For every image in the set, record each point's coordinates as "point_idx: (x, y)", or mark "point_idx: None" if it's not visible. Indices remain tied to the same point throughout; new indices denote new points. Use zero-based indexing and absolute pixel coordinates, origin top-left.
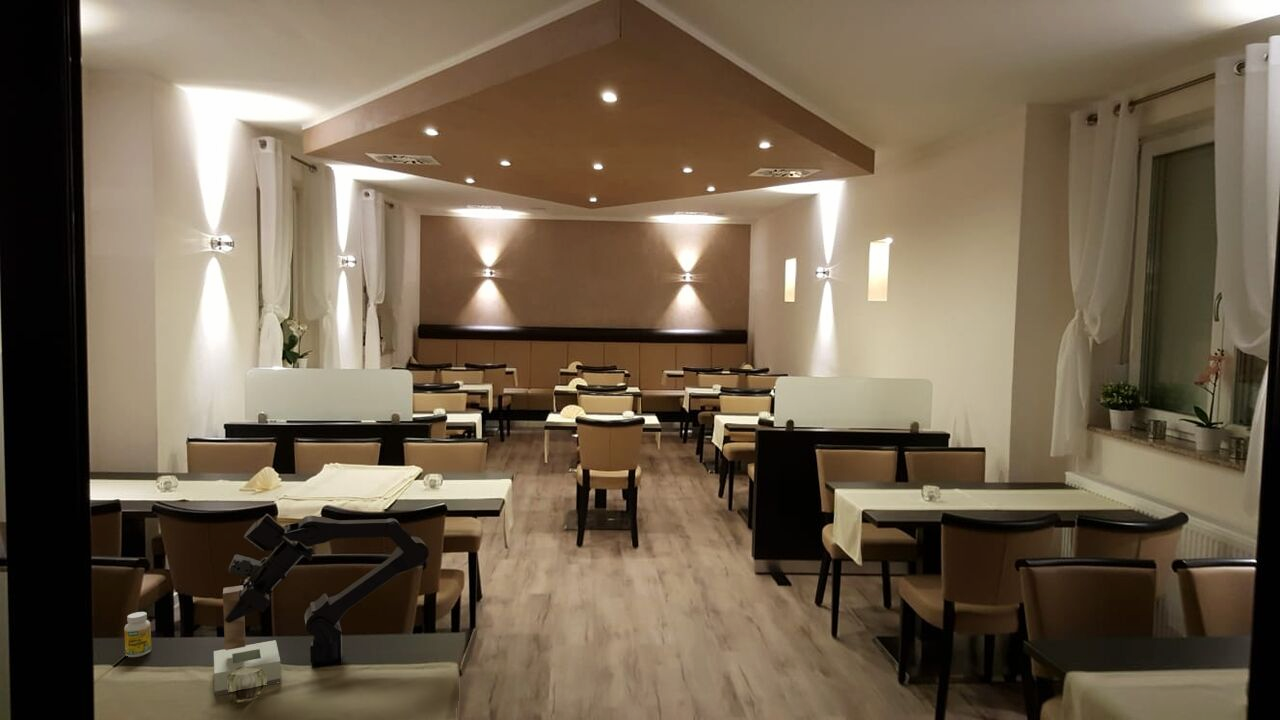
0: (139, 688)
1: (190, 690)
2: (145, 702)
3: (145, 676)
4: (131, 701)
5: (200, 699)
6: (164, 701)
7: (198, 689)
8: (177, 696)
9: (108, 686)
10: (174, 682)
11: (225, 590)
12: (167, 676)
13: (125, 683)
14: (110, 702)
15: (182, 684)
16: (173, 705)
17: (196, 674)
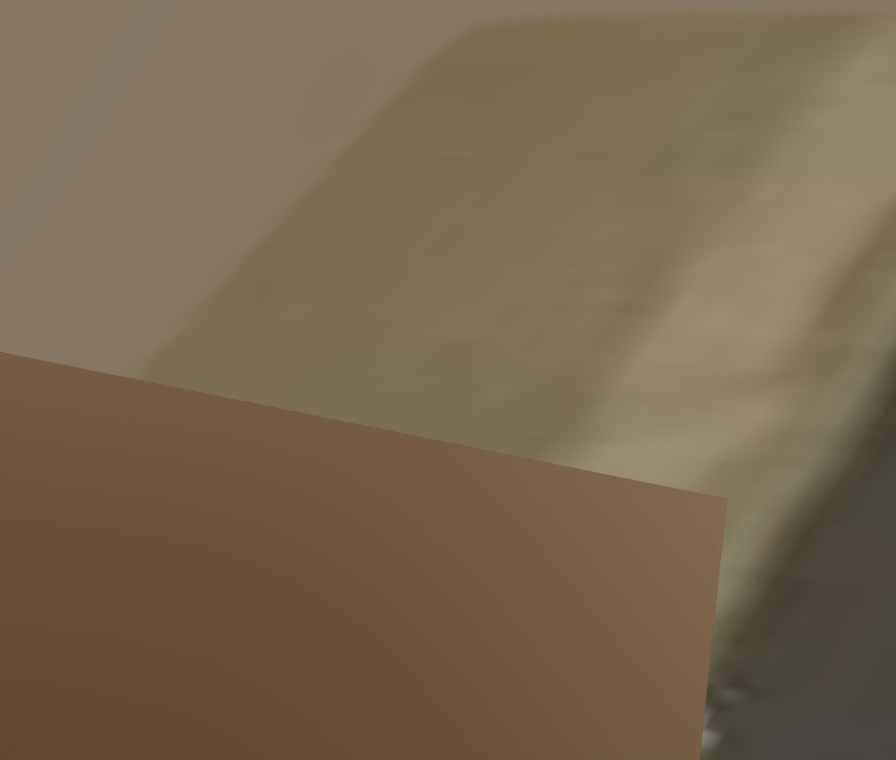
0: (649, 142)
1: (435, 368)
2: (431, 159)
3: (823, 175)
4: (491, 105)
5: (265, 399)
6: (376, 236)
7: (419, 409)
8: (397, 298)
9: (777, 20)
10: (622, 303)
11: (146, 502)
12: (748, 278)
13: (771, 87)
14: (545, 29)
15: (560, 339)
16: (290, 270)
17: (677, 430)
